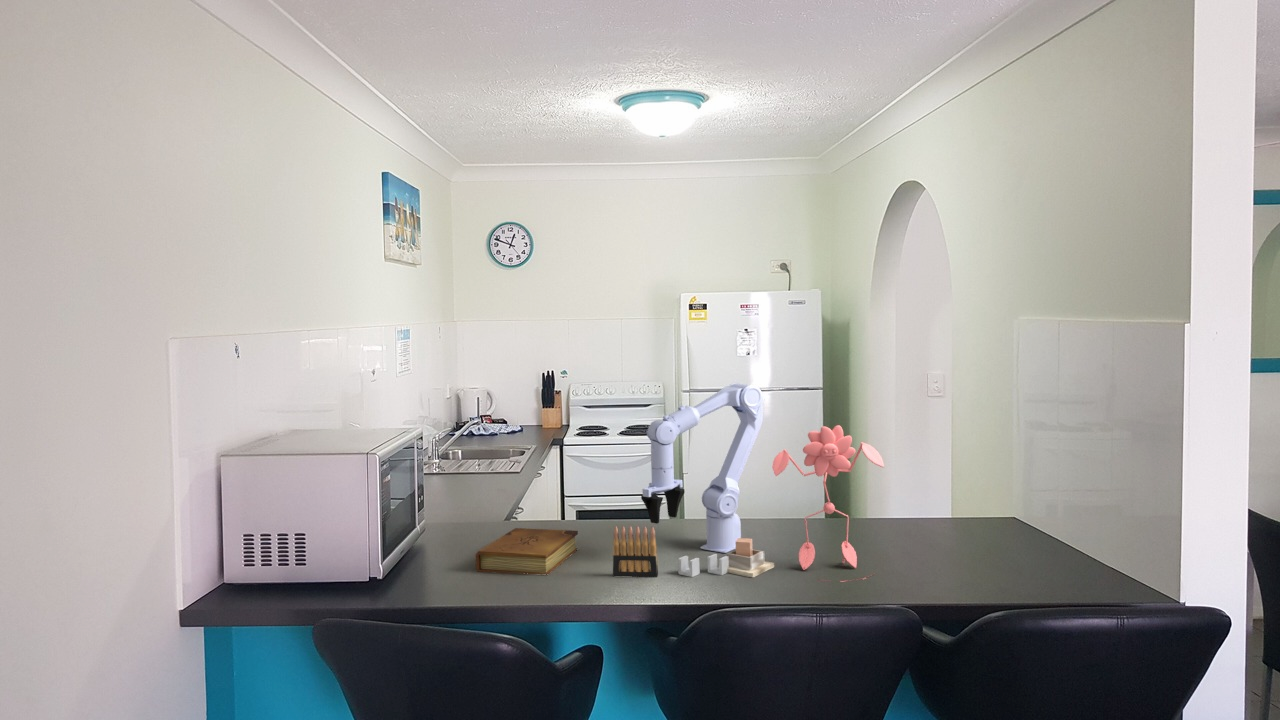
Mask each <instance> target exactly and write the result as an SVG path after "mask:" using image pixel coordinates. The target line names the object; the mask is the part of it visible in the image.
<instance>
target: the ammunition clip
mask: <svg viewBox="0 0 1280 720" xmlns="http://www.w3.org/2000/svg"><path fill="white" fill-rule="evenodd" d="M625 528H626V527H625V526H624V525H623V526H622V527H621V531H620V532H621V533H620V536H619V530H618V527H617V525H615V527H614V529H613V543H612V546H613V549H612V551H613V554H612V555H613V556H612V562H613V563H612V577H614V576H632V577H631V578H658V576H659V567H658V554H657V553H658V552H657V539H656V531H655V528H654V526H651V528H650V535H649V534H648V529H647V527H646V525H645V526H644V527H643V531H642V538H641V531H640V527H639V526H636V529H635V541H634V532H633V528H632V526H631V525H630V526H629V528H628V531H627V532H626V529H625ZM626 533H627V534H626ZM627 536H628V537H627ZM649 536H650V538H649ZM641 539H642V541H641Z"/></svg>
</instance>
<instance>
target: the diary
mask: <svg viewBox="0 0 1280 720" xmlns="http://www.w3.org/2000/svg"><path fill="white" fill-rule="evenodd" d="M578 534H579V531H578V530H570V529H569V530H567V529H546V528H545V529H544V528H526V527H525V528H523V527H521V528H520V527H519V528H518V527H515V528H513V529H511V530H510V531H507V533H505V534H503V535H501V537H499V538H497V539H496V540H494V541H492V542H490V543H489V544H487V545H486V546H484V547H483V548H481V549H479V550H478V551H477V552H476V554H475V570H476V572H479V573H492V572H496V574H509V573H522V574H521V575H527V573H528V574H546V575H547V574H549V573H550V572H551V571H552V570H553V569H555V568H556V567H557V566H558V565H559V566H561V565H562V564H563V563H564V562H565V561H566V560H565V559H566V558H568V557H569V556H570V555H571V554H573V553H574V552H575V551H576V550H577V549H578V550H579V548H578V547H576V537H577V535H578ZM578 550H577V551H578ZM577 551H576V552H577ZM576 552H575V553H576ZM575 553H574V554H575ZM574 554H573V555H574ZM571 556H572V555H571ZM571 556H570V557H571ZM570 557H569V558H570ZM569 558H568V559H569ZM564 560H565V561H564ZM563 561H564V562H563ZM562 562H563V563H562ZM561 563H562V564H561ZM560 564H561V565H560ZM559 566H558V567H559ZM558 567H557V568H558ZM557 568H556V569H557ZM556 569H555V570H556ZM553 571H554V570H553ZM553 571H552V572H553ZM498 572H500V573H498ZM552 572H551V573H552ZM523 573H525V574H523ZM551 573H550V574H551ZM550 574H549V575H550ZM547 576H548V575H547Z"/></svg>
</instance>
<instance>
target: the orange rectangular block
mask: <svg viewBox="0 0 1280 720" xmlns="http://www.w3.org/2000/svg"><path fill="white" fill-rule="evenodd" d="M753 545H754V544H753V538H749V537H748V538H747V537H746V538H745V537H744V538H743V537H741V538H738V539H737V540H736V549H735V550H736V555H741V556H746V557H750V556H753Z"/></svg>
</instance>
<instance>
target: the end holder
mask: <svg viewBox="0 0 1280 720" xmlns="http://www.w3.org/2000/svg"><path fill="white" fill-rule="evenodd" d="M725 556H728V561H729V568H728V573H727V574H732V575H737V576H743V577H748V578H755V577H758V576H759V575H761V574H764V573H765V572H767V571H769V570H771V569H773V568H775V562H770V561H766V559H765V558H766V557H765V556H766V554H765V550H758V549H753V556H750V557H746V556H741V555H736V549H734V550H731V551H729V552H727V553H725ZM717 567H718V568H719V565H717Z"/></svg>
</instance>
